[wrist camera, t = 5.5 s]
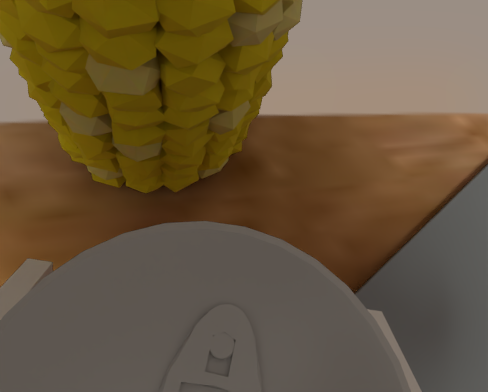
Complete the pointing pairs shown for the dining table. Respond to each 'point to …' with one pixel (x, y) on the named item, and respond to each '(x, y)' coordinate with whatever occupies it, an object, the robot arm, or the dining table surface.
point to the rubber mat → (441, 294)
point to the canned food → (194, 320)
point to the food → (148, 79)
